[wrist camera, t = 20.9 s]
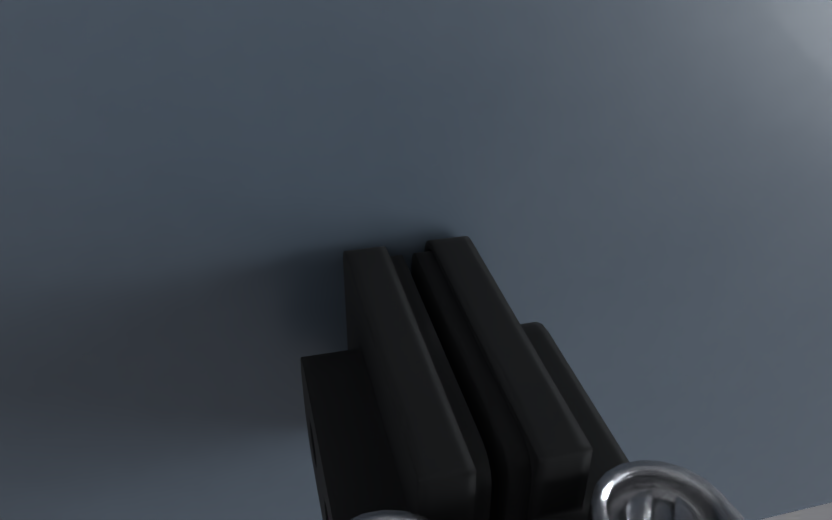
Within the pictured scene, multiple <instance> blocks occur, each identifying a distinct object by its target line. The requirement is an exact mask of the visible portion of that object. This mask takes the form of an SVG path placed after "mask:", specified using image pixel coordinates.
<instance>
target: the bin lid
mask: <svg viewBox="0 0 832 520" xmlns="http://www.w3.org/2000/svg"><path fill="white" fill-rule="evenodd" d="M460 236H468V237H469V238H470V239H471V240H472V242H473V244H474V246H475V247H476V249H477V251H478V252H479V254H480V256H481V258H482V259H483V261H484V263H485V264H486V266H487V268H488V270H489V271H490V273H491V275H492V276H493V278H494V280H495V282H496V283H497V285H498V287H499V288H500V290H501V292H502V294H503V295H504V297H505V299H506V301H507V302H508V304H509V306H510V307H511V309H512V311H513V313H514V314H515V316H516V318H517V319H518V321H519V323H520V324H524V323H530V322H539V323H541V324H543V326H544V327H545V328H546V329H547V330H548V332H549V333H550V335H551V337H552V338H553V340H554V341H555V343H556V345H557V346H558V348H559V349H560V351H561V353H562V354H563V356H564V357H565V359H566V361H567V362H568V364H569V365H570V367H571V369H572V370H573V372H574V374H575V375H576V377H577V378H578V380H579V382H580V383H581V385H582V386H583V388H584V390H585V391H586V393H587V394H588V396H589V398H590V399H591V401H592V402H593V404H594V406H595V407H596V409H597V410H598V412H599V414H600V415H601V417H602V418H603V420H604V422H605V423H606V425H607V427H608V428H609V430H610V431H611V433H612V435H613V436H614V438H615V439H616V441H617V443H618V444H619V446H620V447H621V449H622V451H623V452H624V454H625V455H626V457H627V459H628V460H629V462H632V461H638V460H651V461H663V462H667V463H670V464H674V465H677V466H681V467H684V468H686V469H688V470H690V471H692V472H693V473H695V474H697V475H699V476H701V477H703V478H704V479H706V480H707V481H708V482H709V483H710V484H712V485H713V486H714V487H715V488H716V489H717V490H719V491H720V492H721V493H722V494H723V495H724V496H725V497H726V498H727V500H728V501H729V502H730V503H731V504H732V505H733V506H734V507H735V508H736V509H737V510H738V511H739V512H740V514H741V515H742V516H743V517H744V518H745V519H746V520H761V519H765V518H769V517H773V516H777V515H781V514H786V513H790V512H794V511H798V510H802V509H806V508H810V507H815V506H819V505H823V504H827V503H831V502H832V0H0V520H323V519H322V513H321V508H320V502H319V496H318V491H317V485H316V480H315V474H314V469H313V463H312V457H311V450H310V444H309V437H308V430H307V422H306V414H305V405H304V396H303V386H302V375H301V361H300V358H301V357H305V356H312V355H318V354H325V353H332V352H338V351H345V350H348V343H347V325H346V307H345V289H344V271H343V253H344V251H348V250H356V249H364V248H372V247H380V246H385V247H386V249H387V250H388V253H389V255H390V256H395V255H403V257H404V259H405V261H406V264H407V266H408V268H409V271H410V273H411V262H412V255H413V253H419V252H424V249H425V244H426V242H427V241H428V240H436V239H444V238H452V237H460Z"/></svg>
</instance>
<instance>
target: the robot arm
mask: <svg viewBox="0 0 832 520" xmlns="http://www.w3.org/2000/svg"><path fill="white" fill-rule="evenodd" d="M343 271H344V289H345V307H346V325H347V343H348V350H345V351H338V352H332V353H325V354H318V355H312V356H305V357H301V358H300V361H301V375H302V386H303V396H304V405H305V414H306V422H307V430H308V437H309V444H310V450H311V457H312V463H313V469H314V474H315V480H316V485H317V491H318V496H319V502H320V508H321V513H322V519H323V520H746V519H745V518H744V517H743V516H742V515H741V514H740V512H739V511H738V510H737V509H736V508H735V507H734V506H733V505H732V504H731V503H730V502H729V501H728V500H727V498H726V497H725V496H724V495H723V494H722V493H721V492H720V491H719V490H717V489H716V488H715V487H714V486H713V485H712V484H710V483H709V482H708V481H707V480H706V479H704V478H703V477H701V476H699V475H697V474H695V473H693V472H692V471H690V470H688V469H686V468H684V467H681V466H677V465H674V464H670V463H667V462H663V461H651V460H638V461H632V462H629V460H628V459H627V457H626V455H625V454H624V452H623V451H622V449H621V447H620V446H619V444H618V443H617V441H616V439H615V438H614V436H613V435H612V433H611V431H610V430H609V428H608V427H607V425H606V423H605V422H604V420H603V418H602V417H601V415H600V414H599V412H598V410H597V409H596V407H595V406H594V404H593V402H592V401H591V399H590V398H589V396H588V394H587V393H586V391H585V390H584V388H583V386H582V385H581V383H580V382H579V380H578V378H577V377H576V375H575V374H574V372H573V370H572V369H571V367H570V365H569V364H568V362H567V361H566V359H565V357H564V356H563V354H562V353H561V351H560V349H559V348H558V346H557V345H556V343H555V341H554V340H553V338H552V337H551V335H550V333H549V332H548V330H547V329H546V328H545V327H544V326H543V324H541V323H539V322H530V323H524V324H520V323H519V321H518V319H517V318H516V316H515V314H514V313H513V311H512V309H511V307H510V306H509V304H508V302H507V301H506V299H505V297H504V295H503V294H502V292H501V290H500V288H499V287H498V285H497V283H496V282H495V280H494V278H493V276H492V275H491V273H490V271H489V270H488V268H487V266H486V264H485V263H484V261H483V259H482V258H481V256H480V254H479V252H478V251H477V249H476V247H475V246H474V244H473V242H472V240H471V239H470V238H469V237H468V236H460V237H452V238H444V239H436V240H428V241H427V242H426V244H425V249H424V252H419V253H413V255H412V262H411V273H410V271H409V268H408V266H407V264H406V261H405V259H404V257H403V255H395V256H390V255H389V253H388V250H387V249H386V247H385V246H380V247H372V248H364V249H356V250H348V251H344V253H343Z"/></svg>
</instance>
